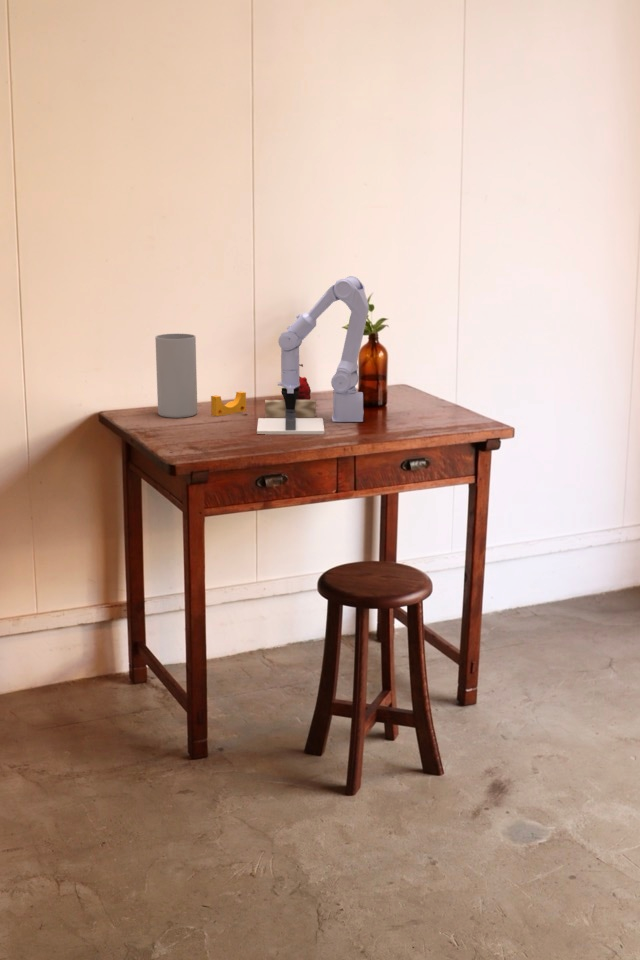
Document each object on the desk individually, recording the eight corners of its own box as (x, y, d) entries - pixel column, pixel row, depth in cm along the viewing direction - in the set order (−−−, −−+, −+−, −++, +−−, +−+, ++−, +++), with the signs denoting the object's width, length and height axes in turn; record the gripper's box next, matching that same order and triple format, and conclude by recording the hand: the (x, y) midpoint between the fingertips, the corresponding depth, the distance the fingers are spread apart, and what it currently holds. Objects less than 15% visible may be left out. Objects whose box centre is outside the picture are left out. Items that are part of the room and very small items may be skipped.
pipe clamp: (237, 410, 377) (237, 390, 376) (246, 412, 374) (245, 392, 373) (208, 415, 370) (207, 395, 368) (216, 417, 367) (215, 397, 365)
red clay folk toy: (313, 401, 390) (313, 357, 386) (305, 405, 383) (305, 360, 380) (293, 400, 393) (292, 356, 389) (284, 403, 386) (284, 359, 382)
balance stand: (322, 421, 360) (322, 408, 359) (324, 434, 343) (324, 421, 342) (258, 421, 360) (258, 408, 359) (256, 434, 342) (256, 421, 341)
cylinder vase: (197, 409, 376) (195, 333, 370) (197, 418, 364) (195, 339, 358) (158, 410, 375) (155, 333, 368) (157, 418, 363) (155, 339, 356)
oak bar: (315, 414, 370) (315, 399, 368) (315, 417, 366) (315, 401, 365) (265, 415, 369) (265, 399, 368) (265, 417, 366) (265, 402, 364)
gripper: (277, 365, 371) (278, 406, 374) (277, 373, 357) (277, 416, 360) (299, 365, 371) (299, 406, 374) (300, 373, 357) (300, 416, 360)
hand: (290, 411), depth 367 cm, fingers closed on oak bar, 4 cm apart
